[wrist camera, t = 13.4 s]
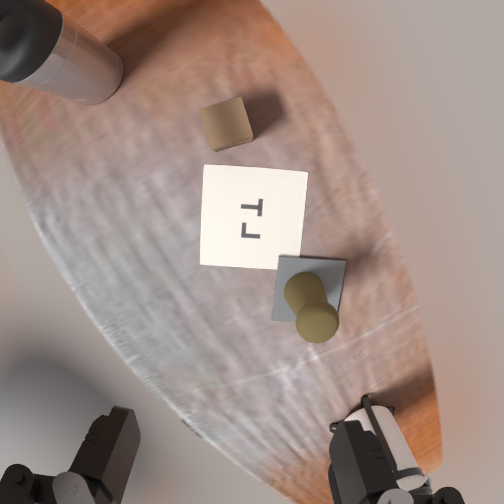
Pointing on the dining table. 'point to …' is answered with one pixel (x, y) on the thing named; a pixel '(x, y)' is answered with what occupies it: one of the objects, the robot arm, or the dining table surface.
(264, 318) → the dining table surface
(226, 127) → the walnut block
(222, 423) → the dining table surface
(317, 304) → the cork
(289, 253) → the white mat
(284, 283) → the slate coaster
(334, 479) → the coffee press
